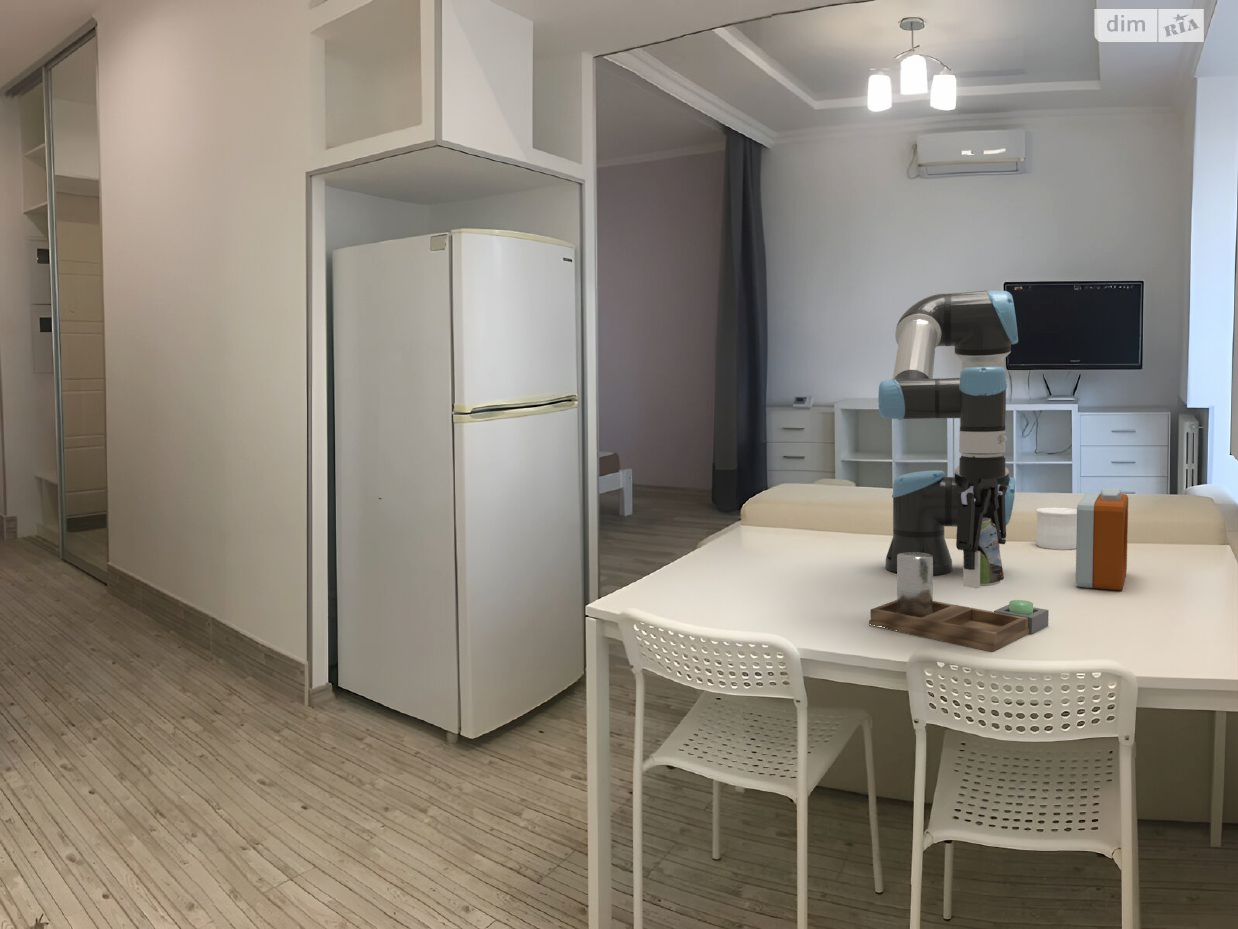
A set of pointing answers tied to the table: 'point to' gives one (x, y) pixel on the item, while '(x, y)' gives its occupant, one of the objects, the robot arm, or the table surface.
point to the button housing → (1030, 618)
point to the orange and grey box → (1102, 540)
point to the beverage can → (989, 555)
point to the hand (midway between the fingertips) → (981, 583)
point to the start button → (1021, 607)
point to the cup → (1056, 528)
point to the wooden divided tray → (955, 625)
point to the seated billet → (915, 584)
